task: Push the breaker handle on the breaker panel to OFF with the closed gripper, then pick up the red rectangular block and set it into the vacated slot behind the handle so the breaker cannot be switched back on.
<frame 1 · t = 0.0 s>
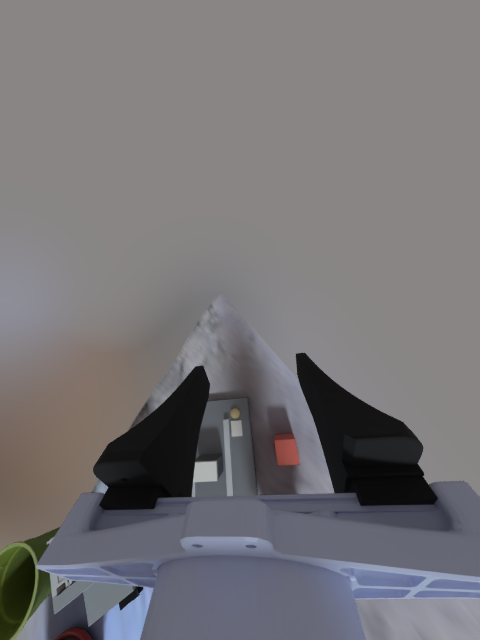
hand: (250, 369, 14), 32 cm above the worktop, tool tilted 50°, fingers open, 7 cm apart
plant pot: (76, 539, 39), on the worktop
circuit breaker: (149, 514, 38), on the worktop
red rectangular block: (285, 444, 38), on the worktop
breaker panel: (213, 449, 40), on the worktop
breaker handle: (208, 467, 36), point 4 cm above the worktop, slide at 0.0 cm
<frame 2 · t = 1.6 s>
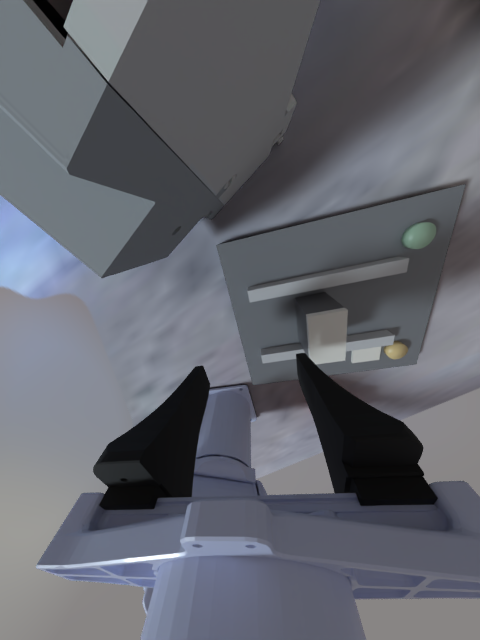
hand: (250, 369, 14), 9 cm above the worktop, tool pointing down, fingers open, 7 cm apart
circuit breaker: (189, 173, 15), on the worktop
breaker panel: (324, 307, 20), on the worktop
breaker handle: (318, 327, 17), point 4 cm above the worktop, slide at 0.0 cm
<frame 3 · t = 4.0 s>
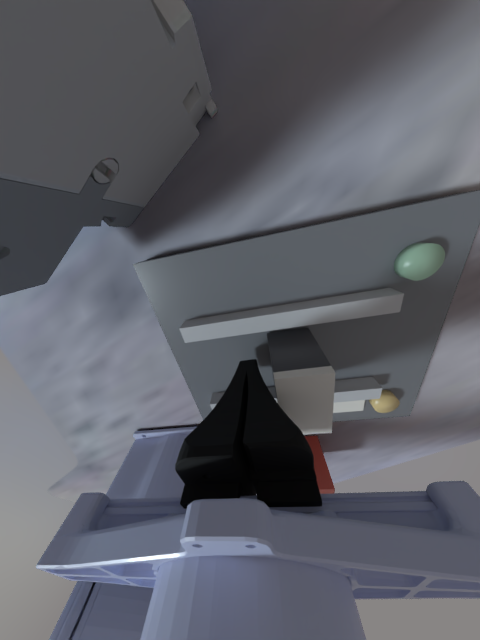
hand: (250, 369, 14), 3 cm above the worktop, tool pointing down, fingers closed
circuit breaker: (87, 159, 10), on the worktop
red rectangular block: (300, 445, 23), on the worktop
breaker panel: (293, 343, 15), on the worktop
breaker handle: (296, 378, 12), point 4 cm above the worktop, slide at 1.3 cm, touching gripper
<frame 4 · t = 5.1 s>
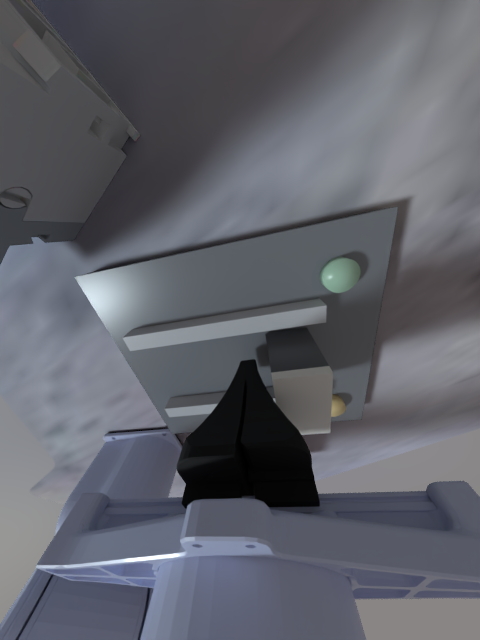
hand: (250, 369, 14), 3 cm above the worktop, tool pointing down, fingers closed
circuit breaker: (26, 178, 11), on the worktop
breaker panel: (244, 350, 16), on the worktop
breaker handle: (294, 378, 12), point 4 cm above the worktop, slide at 5.5 cm, touching gripper
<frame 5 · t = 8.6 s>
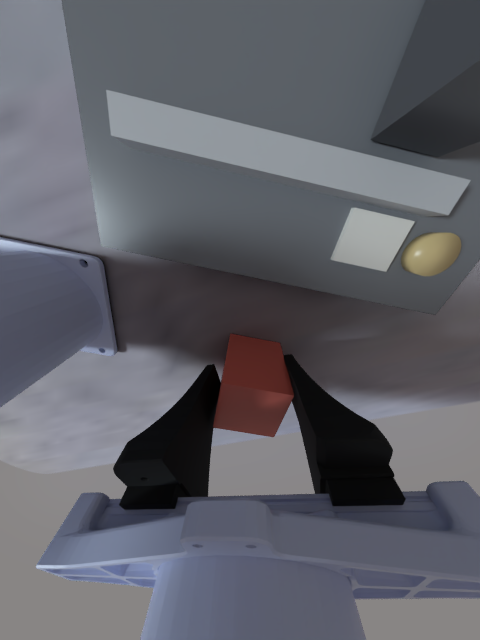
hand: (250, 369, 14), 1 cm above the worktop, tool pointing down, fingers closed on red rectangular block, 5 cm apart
red rectangular block: (249, 357, 15), on the worktop, touching gripper
breaker panel: (331, 67, 7), on the worktop
when the fingers open (4 cm above the worktop, at t = 12.1 s): red rectangular block stays where it is, resting on breaker panel.
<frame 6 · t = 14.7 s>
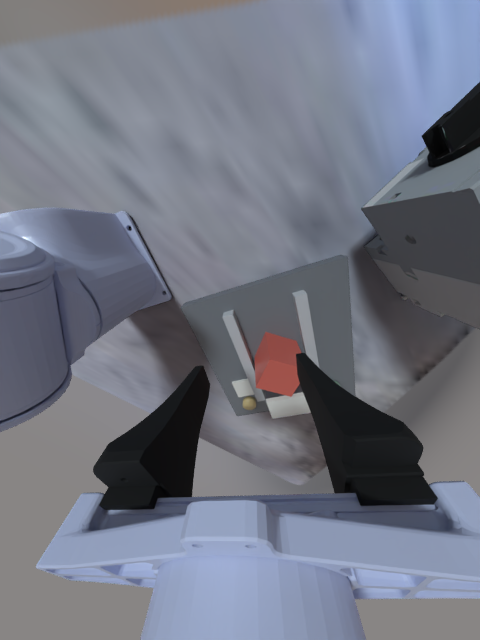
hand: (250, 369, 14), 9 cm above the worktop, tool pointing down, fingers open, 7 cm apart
circuit breaker: (404, 223, 17), on the worktop
red rectangular block: (274, 349, 22), point 1 cm above the worktop, touching breaker panel
breaker panel: (276, 350, 24), on the worktop
breaker handle: (287, 391, 22), point 4 cm above the worktop, slide at 5.5 cm
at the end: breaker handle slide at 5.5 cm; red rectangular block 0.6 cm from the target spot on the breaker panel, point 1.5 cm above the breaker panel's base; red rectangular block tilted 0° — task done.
